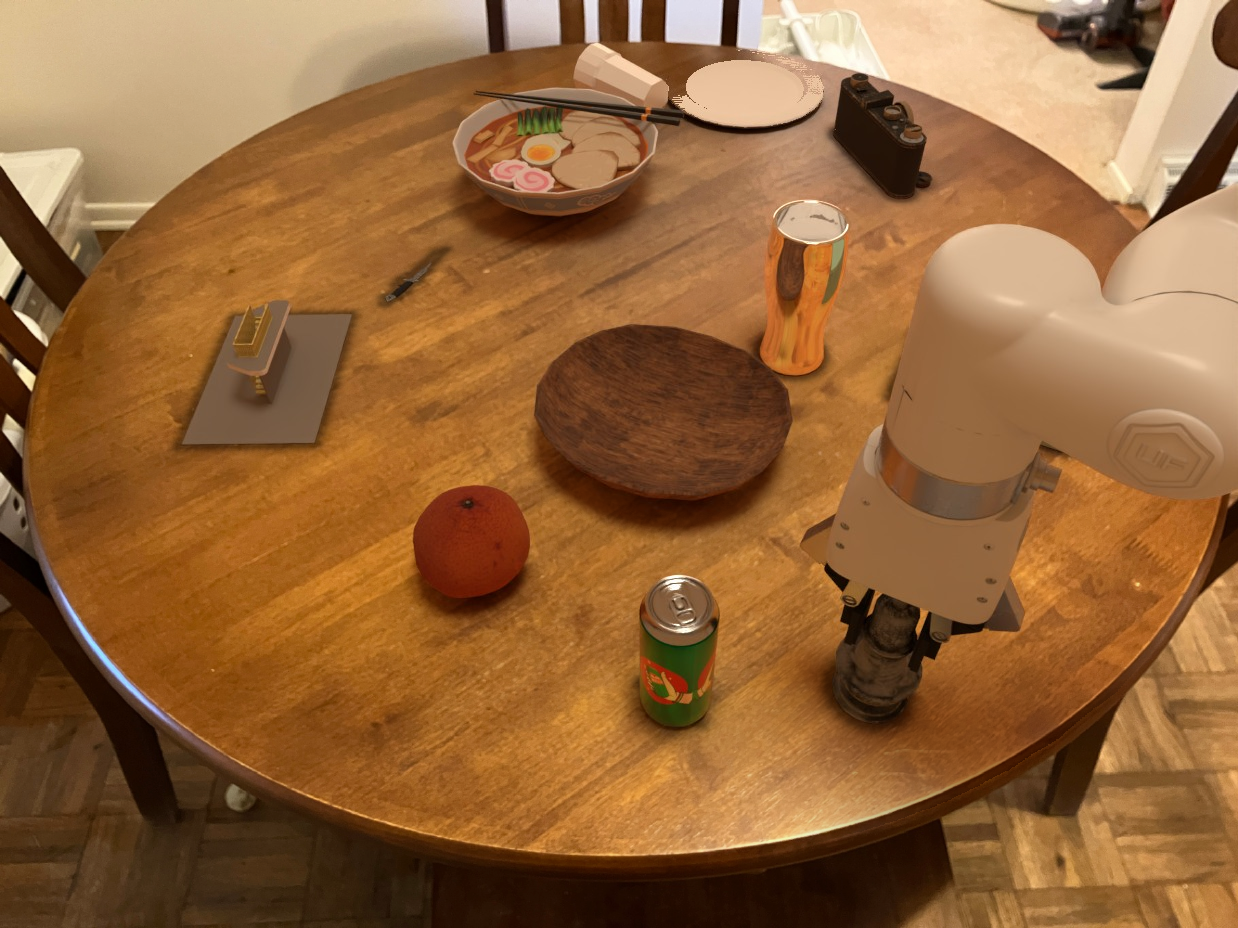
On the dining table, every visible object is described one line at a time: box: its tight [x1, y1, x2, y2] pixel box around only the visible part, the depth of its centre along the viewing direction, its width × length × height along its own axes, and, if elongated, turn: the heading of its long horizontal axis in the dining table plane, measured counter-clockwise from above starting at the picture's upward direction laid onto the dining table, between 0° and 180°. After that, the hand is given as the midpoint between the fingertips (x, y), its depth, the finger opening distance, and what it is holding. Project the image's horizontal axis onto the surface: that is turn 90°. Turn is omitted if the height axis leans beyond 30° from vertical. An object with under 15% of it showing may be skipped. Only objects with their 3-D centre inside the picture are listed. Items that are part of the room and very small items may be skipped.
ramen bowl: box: [451, 87, 685, 217], centre depth 109 cm, size 25×23×8 cm
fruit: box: [412, 484, 531, 599], centre depth 74 cm, size 9×9×8 cm
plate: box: [668, 49, 825, 130], centre depth 127 cm, size 21×21×2 cm
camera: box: [832, 72, 933, 199], centre depth 113 cm, size 16×7×8 cm, turn 18°
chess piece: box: [831, 593, 923, 724], centre depth 64 cm, size 6×6×12 cm
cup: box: [572, 42, 669, 116], centre depth 123 cm, size 7×7×11 cm
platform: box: [181, 299, 353, 445], centre depth 90 cm, size 12×18×7 cm, turn 0°
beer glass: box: [759, 199, 852, 376], centre depth 87 cm, size 7×7×15 cm
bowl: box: [533, 323, 794, 501], centre depth 84 cm, size 20×22×5 cm
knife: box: [385, 262, 432, 303], centre depth 103 cm, size 10×2×1 cm, turn 146°
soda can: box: [638, 574, 721, 728], centre depth 64 cm, size 5×5×12 cm
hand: (887, 639), depth 64 cm, fingers closed on chess piece, 3 cm apart
